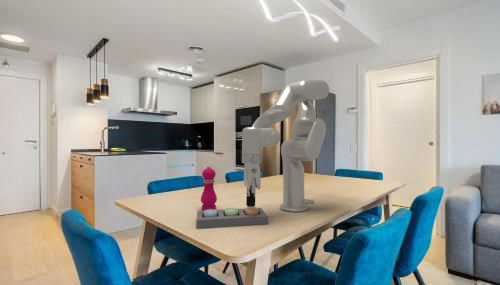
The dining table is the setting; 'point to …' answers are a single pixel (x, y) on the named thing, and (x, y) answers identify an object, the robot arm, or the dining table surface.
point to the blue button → (210, 213)
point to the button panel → (231, 219)
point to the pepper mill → (208, 189)
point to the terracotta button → (251, 210)
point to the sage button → (231, 212)
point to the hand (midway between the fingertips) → (250, 206)
